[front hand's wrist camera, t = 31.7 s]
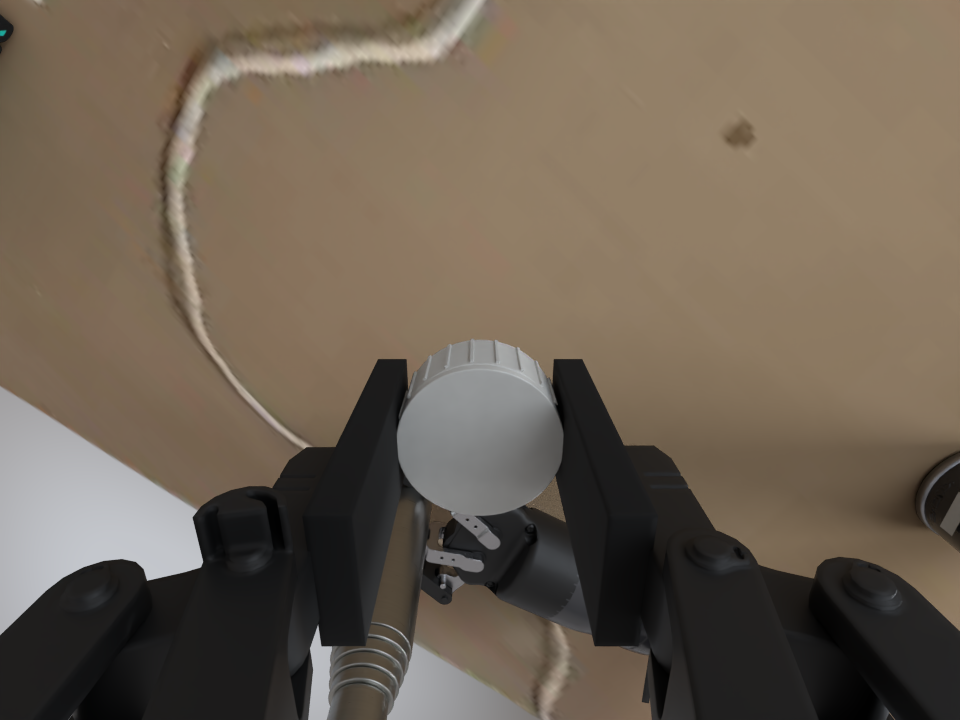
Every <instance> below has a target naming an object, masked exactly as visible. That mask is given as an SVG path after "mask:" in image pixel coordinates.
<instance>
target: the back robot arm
mask: <svg viewBox="0 0 960 720" xmlns="http://www.w3.org/2000/svg"><path fill="white" fill-rule="evenodd" d="M403 484H404V485H406V486H408V487H410V488H413V489H415V488H414V487H413V486H412V485H411V483H410V482H409V481H408V479H407V478H406V476H405V477H404V482H403ZM415 490H416V489H415ZM915 505H916V511H917V514H918V517H919V518H920V520H921V521H922V522H923V523H924V524H925V525H926V526H927V527H928V528H930V529H931V530H932V531H933V532H935V533H936V534H938V535H940V536H941V537H942V538H943V539H944V540H946V541H947V542H948V543H949V544H950V545H951V546H953V547H954V548H955V549H956V550H957V551H958V552H959V553H960V453H957V454H955V455H953V456H951V457H949V458H948V459H946V460H944V461H943V462H942V463H940V464H939V465H938V466H936V467H935V468H934V469H933V470H932V471H931V472H930V473H929V474H928V475H927V477H926V478H925V479H924V481H923V482H922V484H921V486H920V488H919V490H918V492H917V496H916V504H915ZM450 513H451V515H452V516H453V517H454V518H453V519H451V520H450V521H449V522H448V523H443V522H437V521H433V522H431V523H430V524H429V530H428V537H427V544H426V552H425V559H424V566H423V574H422V581H421V588H420V589H422V590H423V591H424V592H426V593H427V594H428V595H430V596H431V597H432V598H434V599H435V600H436V601H438V602H439V603H441V604H449V603H450V602H451V601H452V593H453V592H454V591H455V590H456V589H458V588H459V587H460V586H462V585H463V584H464V583H466V584H470V585H483V586H486V587H488V588H489V589H490V590H491V591H492V592H493V593H494V594H495V595H496V596H497V597H498V598H499V599H501V600H503V601H505V602H507V603H510V604H512V605H515V606H517V607H519V608H522V609H524V610H526V611H529V612H531V613H533V614H536V615H538V616H540V617H543V618H545V619H547V620H550V621H552V622H554V623H557V624H559V625H561V626H564V627H566V628H569V629H572V630H575V631H578V632H583V633H587V634H590V635H592V632H591V628H590V623H589V619H588V615H587V610H586V606H585V602H584V597H583V593H582V589H581V584H580V580H579V576H578V571H577V567H576V563H575V558H574V554H573V550H572V545H571V541H570V537H569V532H568V528H567V524H566V522H563V521H561V520H559V519H557V518H555V517H553V516H551V515H549V514H546V513H544V512H542V511H540V510H538V509H536V508H528V507H527V506H526V505H523V506H521V507H519V508H516V509H514V510H511V511H508V512H505V513H500V514H495V515H486V516H473V515H465V514H460V513H456V512H452V511H450ZM441 538H442V539H443V547H441V546H440V545H439V544H438V539H441ZM441 564H442V565H441ZM448 565H449V566H453V568H454V569H451V568H449V567H448ZM619 647H621V648H624V649H627V650H629V651H632V652H635V653H638V654H642V655H649V653H650V647H651V646H650V643H649V640H648V637H647V634H646V631H645V628H644V625H643V622H642V628H641V635H640V641H639V646H619Z"/></svg>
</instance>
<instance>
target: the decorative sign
mask: <svg viewBox="0 0 960 720" xmlns="http://www.w3.org/2000/svg"><path fill="white" fill-rule="evenodd" d="M12 32H13V25H12V24H10V23H9V22H8V21H7V20H6V19H5V18H4V17H2V16H1V15H0V42H4V41H6V40H7V39H8V38H9V37H10V36H11V34H12ZM1 51H2V49H1V46H0V53H1Z"/></svg>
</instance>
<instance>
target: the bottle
mask: <svg viewBox="0 0 960 720" xmlns="http://www.w3.org/2000/svg"><path fill="white" fill-rule="evenodd" d="M431 508H432V502H431V501H429V500H428V499H426V498H425V497H424V496H422V495H421V494H420V493H419V492H418V491H417V490H415V489H413V488H410V487H408V486H406V485H404V484H403V486H402V490H401V495H400V499H399V503H398V508H397V512H396V516H395V521H394V525H393V529H392V534H391V538H390V542H389V547H388V551H387V555H386V560H385V564H384V568H383V573H382V577H381V581H380V586H379V590H378V595H377V599H376V603H375V608H374V612H373V616H372V621H371V625H370V629H369V634H368V638H367V642H366V646H332V652H331V657H330V662H331V666H330V681H329V689H330V692H329V697H328V699H329V704H330V710H329V714H328V717H327V720H387V715H388V714H389V713H390V712H391V710H392V708H393V706H394V701H395V699H396V698H397V696H398V693H399V688H400V687H401V685H402V683H403V680H404V676H405V674H406V673H407V670H408V665H409V661H410V659H411V654H412V647H413V640H414V632H415V625H416V618H417V610H418V603H419V596H420V588H421V581H422V574H423V566H424V559H425V552H426V544H427V537H428V530H429V522H430V515H431Z"/></svg>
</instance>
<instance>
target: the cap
mask: <svg viewBox="0 0 960 720" xmlns="http://www.w3.org/2000/svg"><path fill="white" fill-rule="evenodd" d="M557 405H558V403H557V400H556V396H555V393H554V390H553V387H552V383H551V380H550V378H547V377H546V375H545V373H544V372H543V371H542V369H541V368H540V367H539V364H538V362H537V361H536V360H535V361H534V360H533V359H532V358H530V357H529V356H528V355H526V354H525V353H524V352H522V351H520V348H518V347H517V348H515V347H512V346H510V345H508V344H504V343H501V342H498V340H494V341H490V340H474V339H471V340H470V341H464V342H460V343H456V344H453V345H451V344H449V345H448V346H447V347H446V348H444V349H442V350H440V351H438V352H437V353H435V354H434V355H432V356H431V355H430V356H428V359H427V361H426V362H424V364H423V365H422V366H421V367H420V368H419V370H418V371H417V372H416V371H415V372H414V373H413V377H412V380H411V384H410V387H409V390H408V391H407V390H406V394H405V397H404V400H403V403H402V407H401V410H400V413H399V419H400V420H399V424H398V428H397V446H398V460H399V463H400V466H401V468H402V470H403V472H404V474H405V476H406V478H407V479H408V481H409V482H410V483H411V485H412V486H413V487H414V488H415V489H416V490H417V491H418V492H419V493H420V494H421V495H422V496H424V497H425V498H426V499H428V500H429V501H431V502H432V503H434V504H436V505H438V506H440V507H442V508H444V509H447V510H449V511H452V512H456V513H460V514H465V515H473V516H486V515H495V514H500V513H505V512H508V511H511V510H514V509H516V508H519V507H521V506H523V505H525V504H526V503H528V502H530V501H532V500H533V499H534V498H535V497H537V496H538V495H539V494H540V493H541V492H542V491H543V490H545V489H546V488H547V486H548V485H549V484H550V482H551V481H552V480H553V478H554V476H555V475H556V473H557V471H558V469H559V467H560V464H561V461H562V452H563V436H564V431H563V426H562V422H561V419H560V415H559V412H558V409H557Z"/></svg>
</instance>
